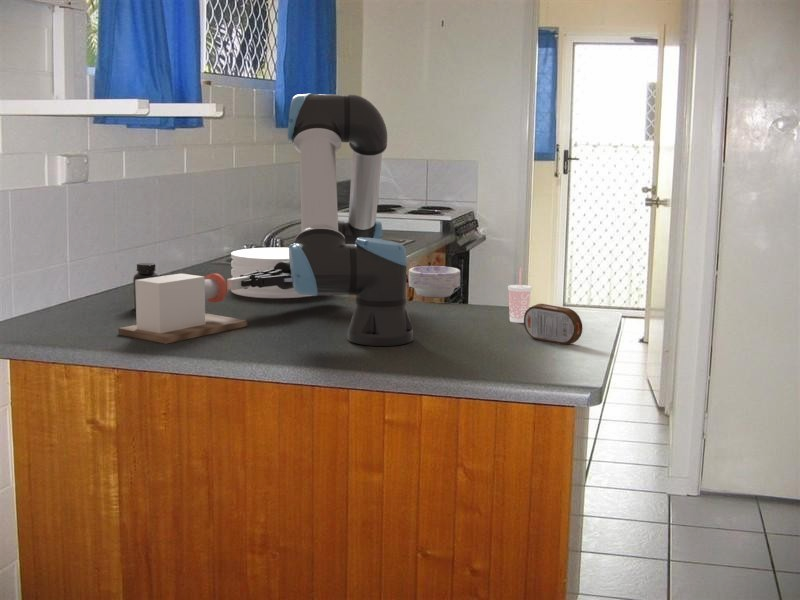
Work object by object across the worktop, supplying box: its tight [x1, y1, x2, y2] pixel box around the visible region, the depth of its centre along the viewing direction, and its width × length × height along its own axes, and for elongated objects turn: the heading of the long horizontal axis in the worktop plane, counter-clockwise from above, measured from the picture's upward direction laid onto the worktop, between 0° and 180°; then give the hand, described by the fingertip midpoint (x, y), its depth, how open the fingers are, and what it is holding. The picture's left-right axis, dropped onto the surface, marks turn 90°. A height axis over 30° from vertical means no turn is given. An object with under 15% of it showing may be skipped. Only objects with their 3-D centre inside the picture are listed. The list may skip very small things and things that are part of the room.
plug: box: [204, 273, 228, 304], centre depth 238 cm, size 14×7×7 cm, turn 145°
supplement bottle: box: [132, 262, 160, 310], centre depth 263 cm, size 7×7×12 cm
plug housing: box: [135, 273, 206, 333], centre depth 232 cm, size 14×8×12 cm, turn 145°
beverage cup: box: [507, 266, 533, 324], centre depth 254 cm, size 6×6×14 cm
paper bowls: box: [408, 265, 461, 299], centre depth 291 cm, size 15×15×8 cm
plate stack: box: [230, 247, 313, 299], centre depth 296 cm, size 28×28×12 cm
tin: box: [523, 303, 583, 345], centre depth 230 cm, size 15×3×8 cm, turn 47°
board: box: [117, 312, 248, 345], centre depth 236 cm, size 26×16×2 cm, turn 145°
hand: (229, 284), depth 247 cm, fingers closed
